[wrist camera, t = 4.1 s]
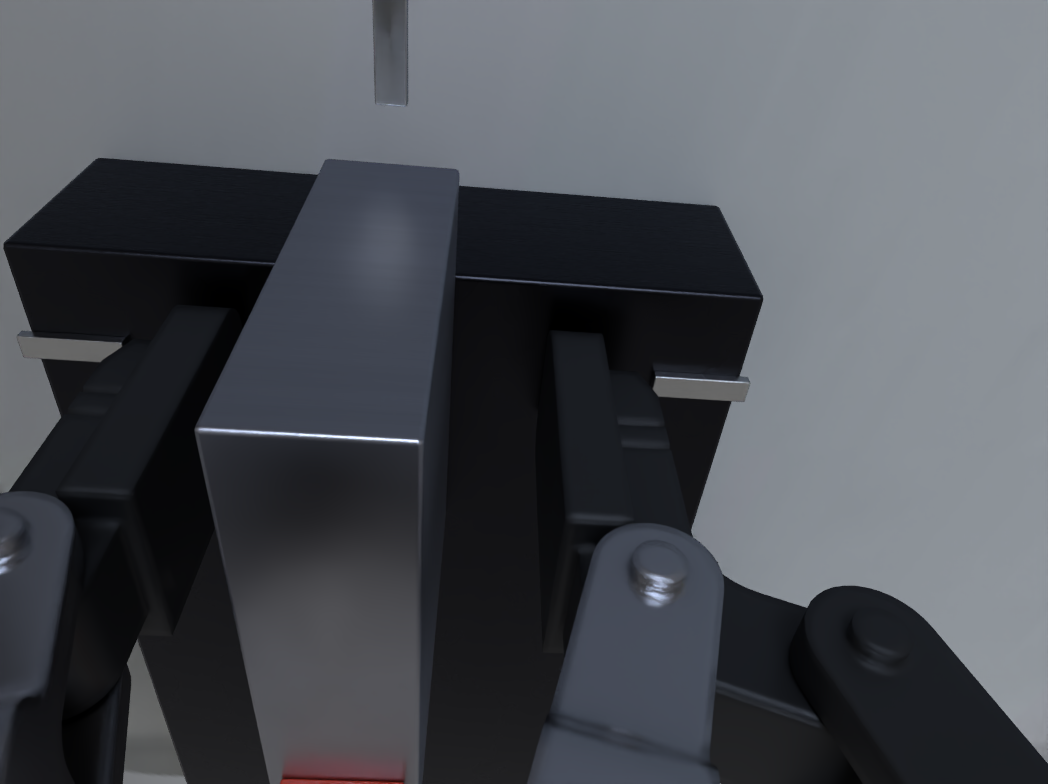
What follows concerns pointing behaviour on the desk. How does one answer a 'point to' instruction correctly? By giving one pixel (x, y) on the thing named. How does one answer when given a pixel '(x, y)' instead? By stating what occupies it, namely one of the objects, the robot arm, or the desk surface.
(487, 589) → the black rectangular base
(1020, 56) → the desk surface
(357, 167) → the grey and red bar
